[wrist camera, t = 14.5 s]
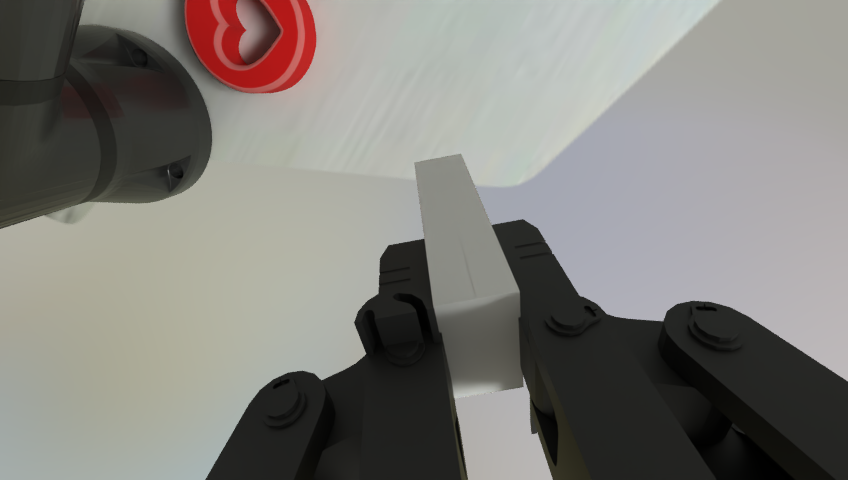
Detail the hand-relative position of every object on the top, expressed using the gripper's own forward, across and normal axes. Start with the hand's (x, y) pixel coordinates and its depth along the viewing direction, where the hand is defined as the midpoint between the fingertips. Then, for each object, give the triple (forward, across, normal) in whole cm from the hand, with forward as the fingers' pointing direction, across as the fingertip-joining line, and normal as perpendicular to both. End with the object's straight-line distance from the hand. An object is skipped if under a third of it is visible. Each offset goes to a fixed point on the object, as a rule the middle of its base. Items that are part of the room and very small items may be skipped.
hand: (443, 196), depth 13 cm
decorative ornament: (+26, -12, +5) cm, 29 cm away
